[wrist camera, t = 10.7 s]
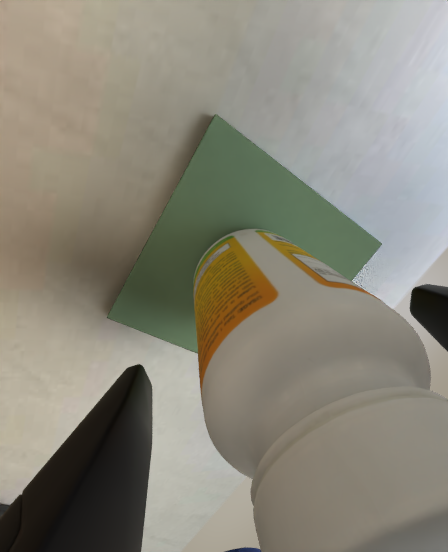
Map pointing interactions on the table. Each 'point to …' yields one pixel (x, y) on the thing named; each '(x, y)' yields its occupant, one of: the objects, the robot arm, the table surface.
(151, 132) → the table surface
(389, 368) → the supplement bottle
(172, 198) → the mat
